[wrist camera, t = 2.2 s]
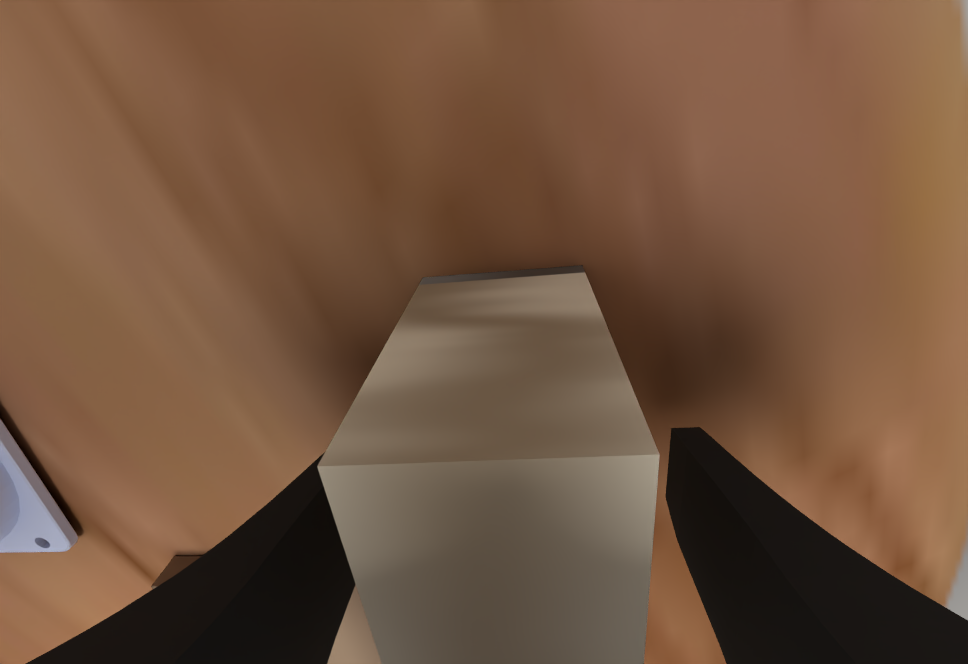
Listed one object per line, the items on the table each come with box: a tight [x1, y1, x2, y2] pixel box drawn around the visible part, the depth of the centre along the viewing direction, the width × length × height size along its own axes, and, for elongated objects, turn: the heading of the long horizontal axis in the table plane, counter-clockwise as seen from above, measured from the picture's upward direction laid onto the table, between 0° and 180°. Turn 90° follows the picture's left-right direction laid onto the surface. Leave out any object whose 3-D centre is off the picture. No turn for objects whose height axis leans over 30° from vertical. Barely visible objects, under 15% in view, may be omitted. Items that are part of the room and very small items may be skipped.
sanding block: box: [317, 265, 660, 664], centre depth 10 cm, size 4×8×7 cm, turn 6°
